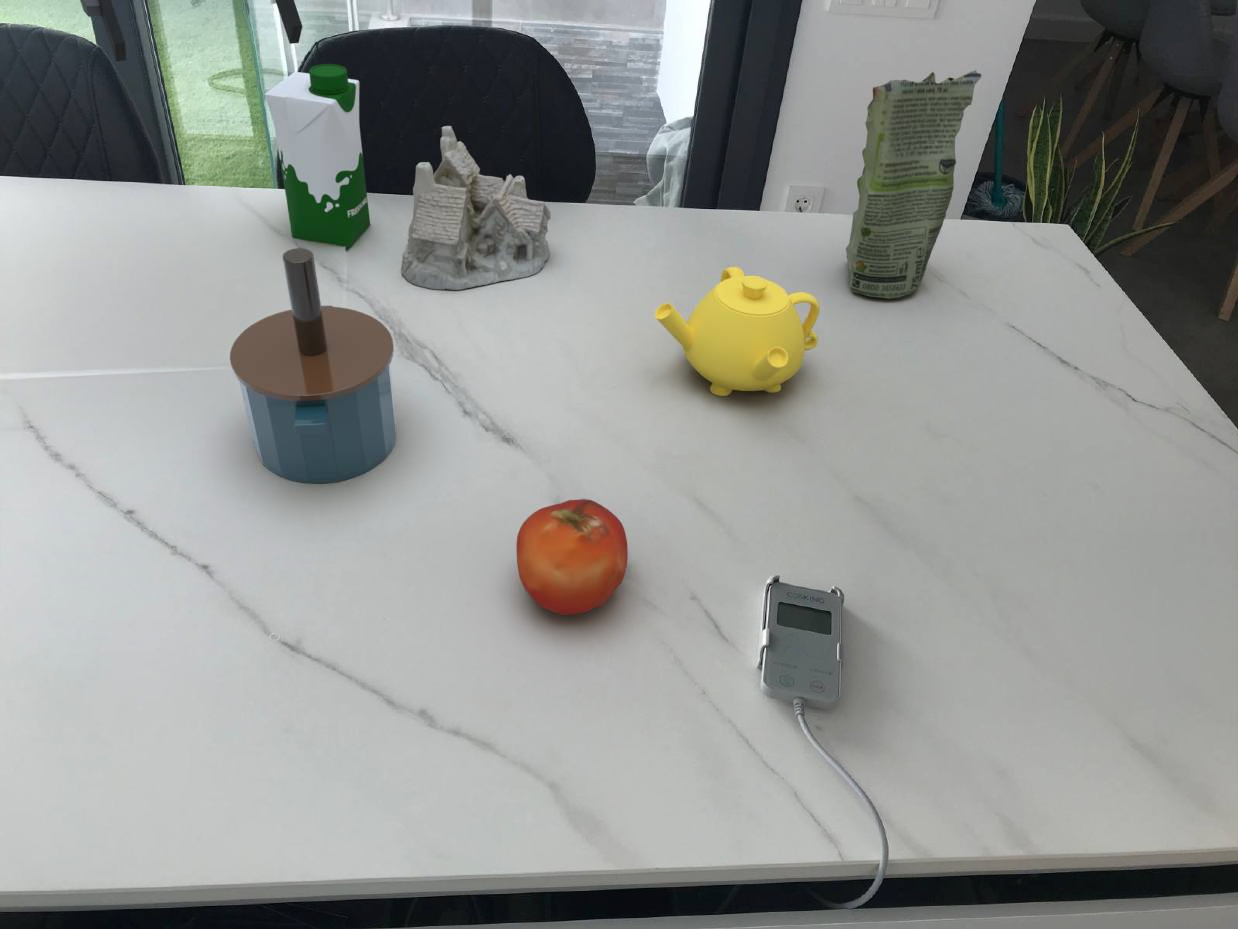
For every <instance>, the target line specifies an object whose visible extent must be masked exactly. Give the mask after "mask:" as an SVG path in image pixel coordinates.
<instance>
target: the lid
mask: <svg viewBox="0 0 1238 929" xmlns="http://www.w3.org/2000/svg"><path fill="white" fill-rule="evenodd" d="M281 257H282V264H283V269H284V275H285V281H286V285H287V292H288V297H289V298H288V299H289V303H290V307H291V308H290V309H287V310H283V311H280V312H276V313H274V314H271V315H269V316H266V317H264V318H262V319H260V320H258V321H256V322H254V323H253V324H251V325H250V326H248V327H247V328H245V329H244V330H243V331H242V332H241V333H240V334H239V336H237V338H236V339H235V340H234V342H233V344H232V345H231V348H230V352H229V361H230V362H229V363H230V366H231V370H232V373H233V374H234V376H235V378H236V379H237V380H238V381H239V383H240V382H241V383H242V384H243V385H245V386H246V387H248V388H249V389H251V390H253V391H255V392H257V393H259V394H262V395H264V396H267V397H271V398H276V399H281V400H289V401H315V400H323V399H329V398H334V397H338V396H342V395H345V394H348V393H351V392H354V391H356V390H359V389H361V388H363V387H365V386H367V385H368V384H370V383H372V382H373V381H374V380H376V379H377V378H378V377H380V376H381V375H382V374H383V373H384V372H385V370H386V369H387V368H388V366H389V365H390V366H391V363H392V361H393V358H394V351H395V346H394V340H393V337H392V334H391V332H390V331H389V330H388V328H387V327H386V326H385V325H384V324H383V323H382V322H381V321H380V320H378V319H376V318H375V317H373V316H372V315H369V314H367V313H364V312H362V311H359V310H355V309H352V308H351V309H350V308H346V307H339V306H333V307H329V306H330V305H322V303H321V296H320V289H319V288H320V287H319V283H318V282H319V281H318V276H317V270H316V264H315V263H316V262H315V255H314V253H313V252H312V250H310V249H307V248H303V247H302V248H301V247H298V248H297V247H296V248H291V249H288V250H286V251H285V252H283V254H282V256H281Z"/></svg>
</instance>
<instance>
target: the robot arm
mask: <svg viewBox="0 0 1238 929" xmlns="http://www.w3.org/2000/svg"><path fill="white" fill-rule="evenodd" d="M79 2H80V4H81V7H82V10H83V12H84V13H85V14H86V16H87V17H88V18H90V17H91V18H92V17H100V18H101V20H102V24H103V26H104V29H105V32H106V36H107V39H108V42H109V44H110V47H111V50H112V53H113V56H114V59H115V62H126V61H127V50H126V49H127V48H126V41H125V39H124V35H123V32H122V30H121V27H120V23H119V19H118V18H117V14H116V12H115V9H114V5H113V2H112V0H79ZM274 2H275V4H276V7H277V10H278V12H279V16H280V18H281V22H282V24H283V28H284V30H285V35H286V37H287V40H288V43H289V44H293V45H294V44H299V43H300V38H301V34H302V31H303V27H304V26H303V24H302V20H301V17H300V14H299V11H298V7H297V4H296V2H295V0H275V1H274Z"/></svg>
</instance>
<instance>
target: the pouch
mask: <svg viewBox="0 0 1238 929" xmlns="http://www.w3.org/2000/svg"><path fill="white" fill-rule="evenodd" d="M982 75H983V74H982V73H980V72H977V69H975V70H972V71H969V72H967V73H965V74H963V75H961V76H959V77H957V78H954V77H947V78H946V79H944V80H943V81H940V82H939V83H938V82H936V74H935V72H934V71H932V72H931V73H930V74H929V75H928V76H927V77H925V78H924V79H923V80H921V81H918V82H917V81H914V80H908V79H902V80H900V79H893V80H889V81H888V82H886V83H883V84H881V85H877V86H873V87H872V100H871V101H870V102H869V104H868V105H867V116H866V121H865V127H866V142H865V147H864V148H863V149H862V153H861V155H862V159H863V164H864V166H863V168H862V169H863V170H862V174H861V176H859V177H858V178H857V180H856V186H857V190H858V196H859V197H858V208H857V209H856V210H855V212H853V214H852V223H851V230H850V236H849V242H848V244H847V246H846V247H845V252H846V259H847V268H848V269H847V270H848V273H849V281H850V282H849V286H850V288H851V291H852V292H853V293H857V294H860V295H863V296H866V297H870V298H881V299H888V300H890V299H899V298H902V297H905V296H908V295H911V294H913V293H915V292H916V291H918V289H919V287H920V284H921V282H922V280H923V278H924V277H925V273H926V269H927V266H928V263H929V261H930V258H931V254H932V252H933V249H934V247H935V246H936V245H935V244H936V243H937V240H938V237H939V235H940V233H941V230H942V227H943V225H944V221H945V219H946V217H947V211H948V209H949V207H950V204H951V200H952V197H953V191H954V188H955V186H954V185H955V184H954V180H955V178H954V177H955V176H954V173H955V168H956V164H957V159H956V136H957V135H958V134H959V132H960V130H961V128H962V127H961V126H962V121H963V118H964V112H965V110H966V109H967V108H968V107H969V106H971V105H972V103H973V96H974V91H975V86H976V84H977V83H978V82H979V81H980V80H981V78H982Z"/></svg>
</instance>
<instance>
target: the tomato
mask: <svg viewBox="0 0 1238 929" xmlns="http://www.w3.org/2000/svg"><path fill="white" fill-rule="evenodd" d="M515 548H516V565H517V571H518V577H519V580H520V583H521V585H522V587H523V588H524V590H525V591H526V592H527V594H528V595H529V596H530V598H532V600H534V601H535V603H536V604H538V605H539V606H540V607H541V608H543V609H544V610H545V609H546V610H548V611H551V612H553V613H555V614H558V615H564V616H569V615H575V614H585V613H587V612H590V611H591V610H593V609H595V608H598V607H601V606H602V605H603V604H605V602H607V600H608V599H610V597H611V596H612V594H614V592H615V591H616V590H617V588H618V587H619V586H620V585H621V584H622V582H623V580H624V578H625V575H626V570H627V566H628V556H629V553H628V552H629V551H628V550H629V549H628V539H627V535H626V530H625V527H624V525H623V524H622V522H621V520H620V519H619V518H618V517H617V516H616V515H615V514H614V513H613V512H612V511H611V510H609V509H608V508H607V507H605V506H604V505H602V504H600V503H598V502H596V501H594V500H592V499H588V498H579V499H569V500H566V501H563V502H559V503H555V504H552V505H548V506H544V507H541V508H540V509H538V510H536V511H534V512H533V513H532V514H531V515H529V516H528V517H527V518H526V519H525V520H524V521H523V523H522V524H521V526H520V528H519V529H518V533H517V536H516V547H515Z"/></svg>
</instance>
